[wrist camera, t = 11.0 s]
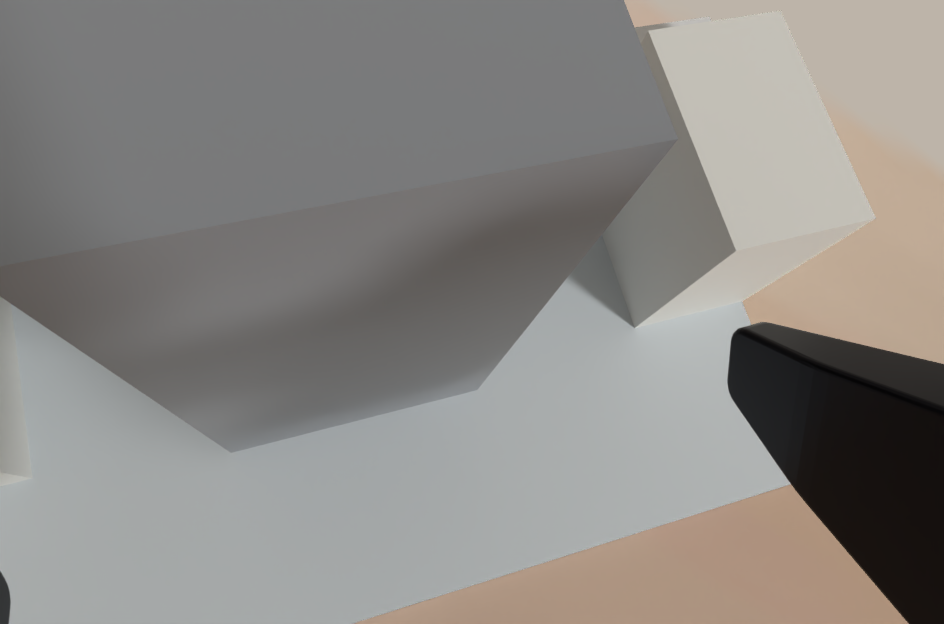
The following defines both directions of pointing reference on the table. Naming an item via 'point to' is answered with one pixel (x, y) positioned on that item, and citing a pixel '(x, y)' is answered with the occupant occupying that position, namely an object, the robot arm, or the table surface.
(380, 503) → the rail plate
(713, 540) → the table surface
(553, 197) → the module
